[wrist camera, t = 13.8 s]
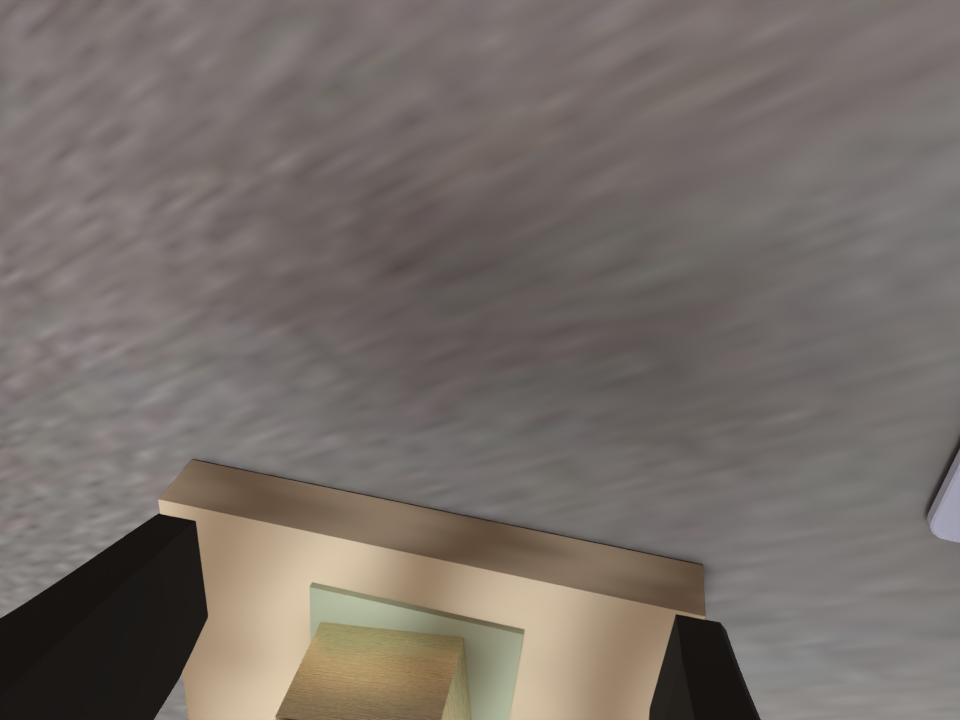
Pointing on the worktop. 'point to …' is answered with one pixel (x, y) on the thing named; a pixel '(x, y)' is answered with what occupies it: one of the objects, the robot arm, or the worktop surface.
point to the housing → (379, 676)
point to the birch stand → (420, 598)
